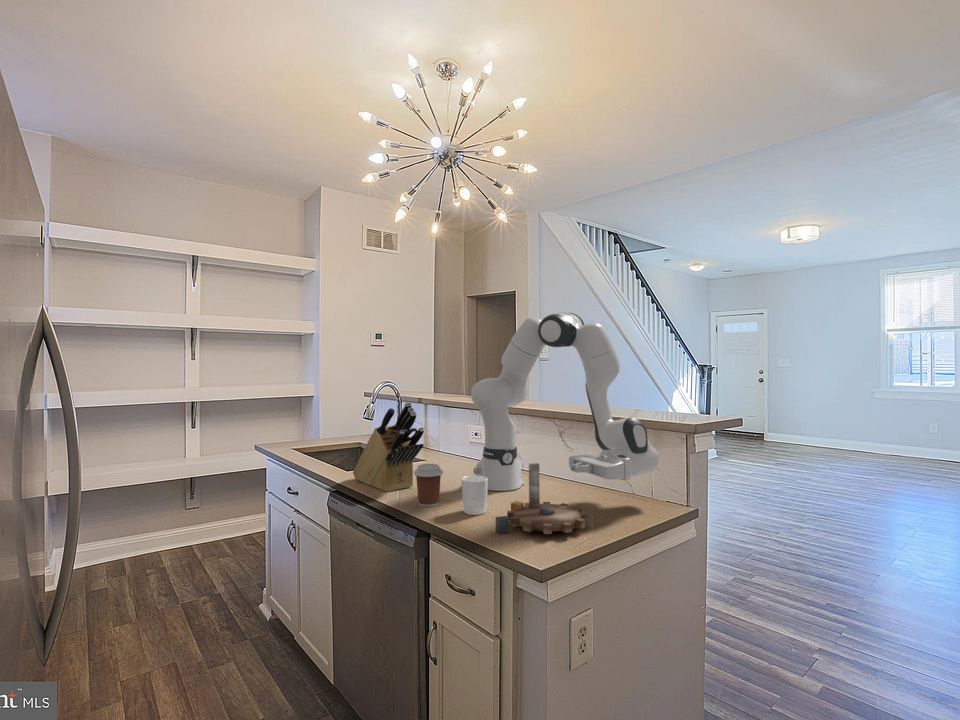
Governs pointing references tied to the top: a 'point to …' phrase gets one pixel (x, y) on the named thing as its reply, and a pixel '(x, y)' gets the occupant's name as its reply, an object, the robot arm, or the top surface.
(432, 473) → the coffee cup
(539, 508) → the sprocket
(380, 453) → the knife block
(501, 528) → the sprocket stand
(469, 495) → the white cup
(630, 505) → the top surface
